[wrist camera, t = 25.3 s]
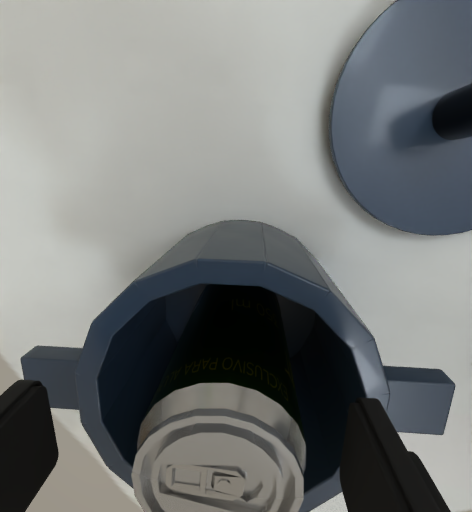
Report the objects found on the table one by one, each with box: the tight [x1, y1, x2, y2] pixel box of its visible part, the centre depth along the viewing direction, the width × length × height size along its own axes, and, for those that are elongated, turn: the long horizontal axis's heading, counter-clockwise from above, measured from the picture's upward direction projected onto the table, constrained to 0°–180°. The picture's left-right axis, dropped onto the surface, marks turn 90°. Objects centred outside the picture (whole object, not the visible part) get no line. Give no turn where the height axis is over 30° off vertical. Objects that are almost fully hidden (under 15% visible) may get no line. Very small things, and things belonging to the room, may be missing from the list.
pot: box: [21, 220, 455, 512], centre depth 16 cm, size 12×17×10 cm
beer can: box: [131, 284, 306, 512], centre depth 14 cm, size 5×5×12 cm
